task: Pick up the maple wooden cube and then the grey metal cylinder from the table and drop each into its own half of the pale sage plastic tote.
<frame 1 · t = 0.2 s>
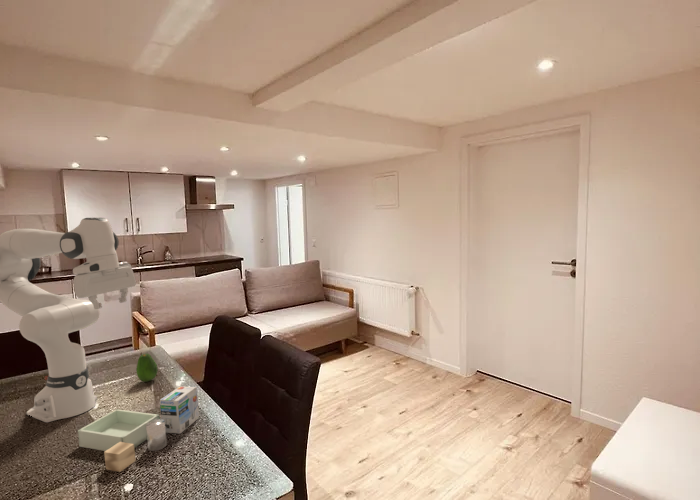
hand: (111, 305, 134), 39 cm above the table, tool pointing down, fingers open, 8 cm apart
light bulb box: (181, 425, 130), on the table
tote: (121, 437, 124), on the table
cube: (121, 465, 110), on the table
avocado: (148, 381, 168), on the table
cylinder: (157, 446, 118), on the table
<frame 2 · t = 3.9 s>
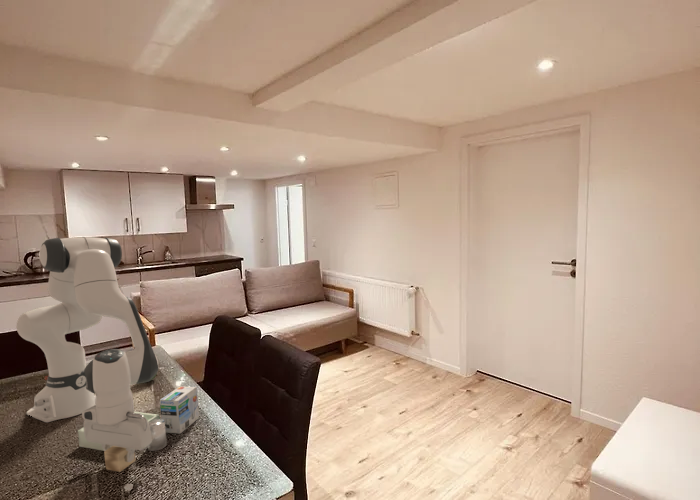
hand: (120, 459, 110), 2 cm above the table, tool pointing down, fingers closed on cube, 5 cm apart
cube: (120, 464, 110), on the table, touching gripper
everything else where it was.
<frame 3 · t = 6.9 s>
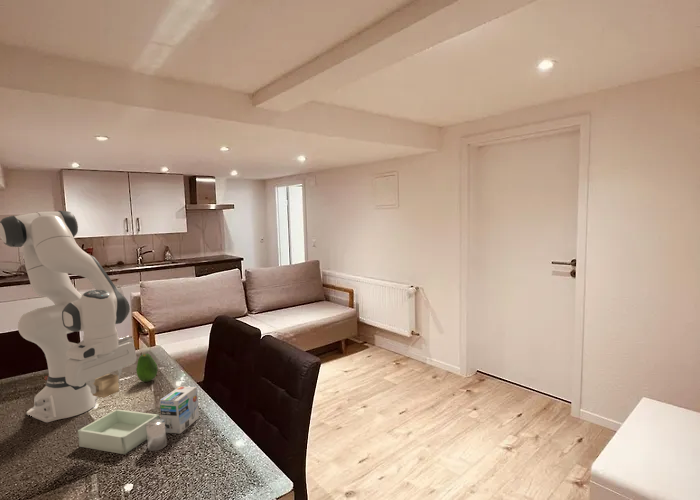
hand: (105, 388, 122), 16 cm above the table, tool pointing down, fingers closed on cube, 5 cm apart
cube: (105, 393, 122), point 15 cm above the table, touching gripper
everything else where it was.
when the fingers open (5 cm above the table, at t = 9.9 s): cube drops 2 cm, resting on tote.
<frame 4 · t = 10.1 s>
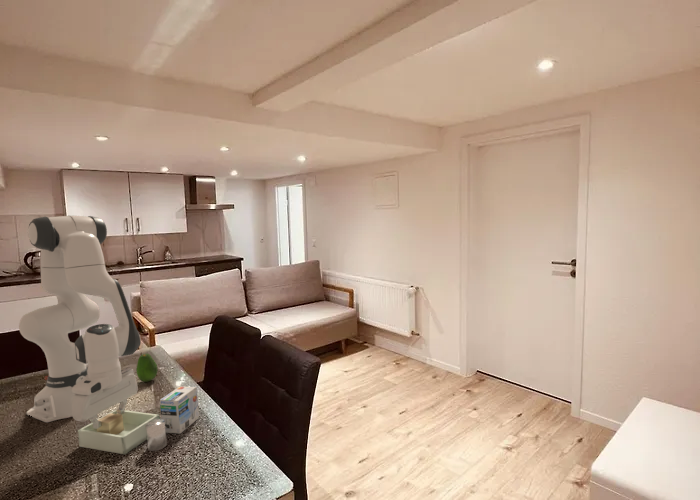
hand: (109, 420, 125), 5 cm above the table, tool pointing down, fingers open, 7 cm apart
cube: (111, 433, 125), point 1 cm above the table, touching tote
everything else where it was.
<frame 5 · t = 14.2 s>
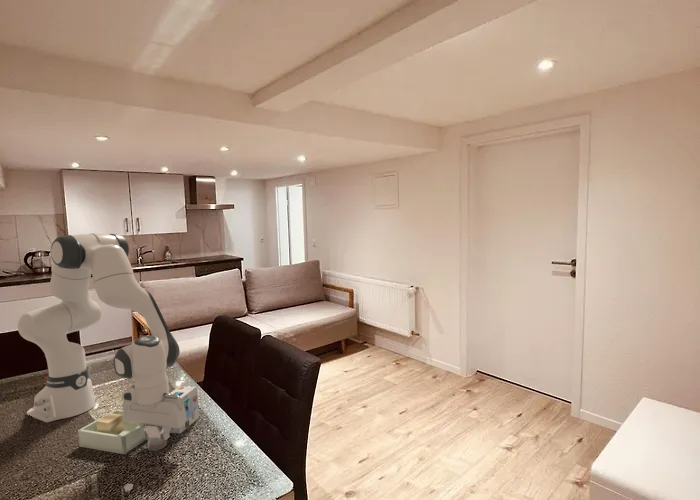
hand: (156, 437, 118), 3 cm above the table, tool pointing down, fingers closed on cylinder, 5 cm apart
cylinder: (157, 445, 118), on the table, touching gripper
everything else where it was.
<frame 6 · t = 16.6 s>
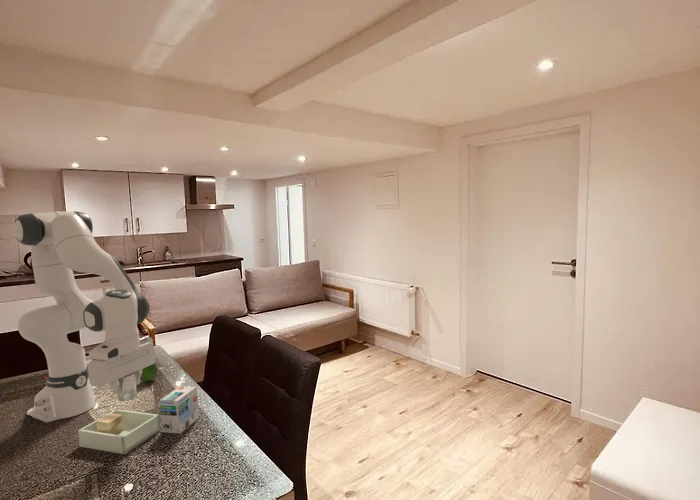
hand: (126, 388, 121), 16 cm above the table, tool pointing down, fingers closed on cylinder, 5 cm apart
cylinder: (127, 397, 121), point 13 cm above the table, touching gripper
everything else where it was.
when the fingers open (6 cm above the table, at t = 19.3 s): cylinder drops 2 cm, resting on tote.
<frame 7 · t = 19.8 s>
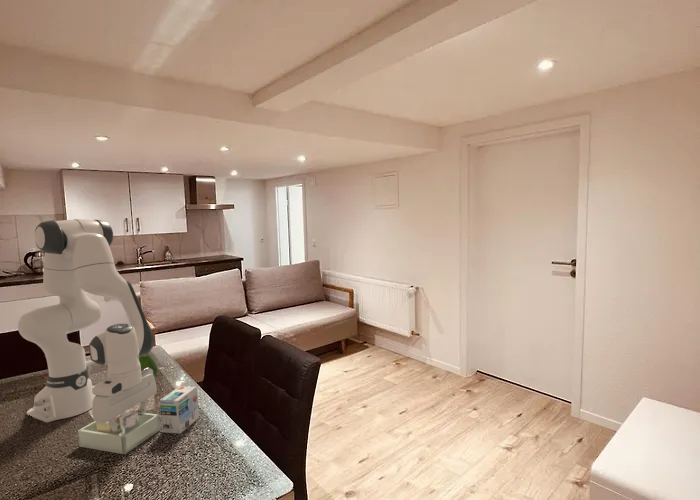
hand: (129, 421, 122), 6 cm above the table, tool pointing down, fingers open, 8 cm apart
cylinder: (130, 436, 123), point 1 cm above the table, touching tote
everything else where it was.
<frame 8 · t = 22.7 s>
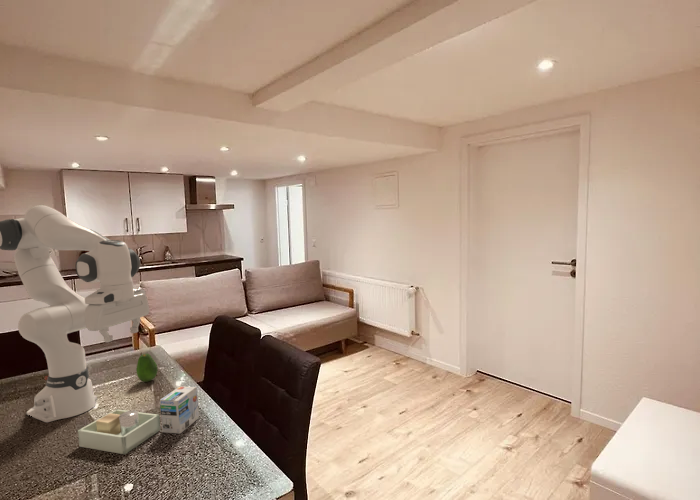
hand: (122, 337, 124), 31 cm above the table, tool pointing down, fingers open, 8 cm apart
nothing on the table moved.
at the end: cube inside the target area on the tote (4.0 cm from its centre), point 1.0 cm above the tote's base; cylinder inside the target area on the tote (4.0 cm from its centre), point 1.0 cm above the tote's base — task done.
